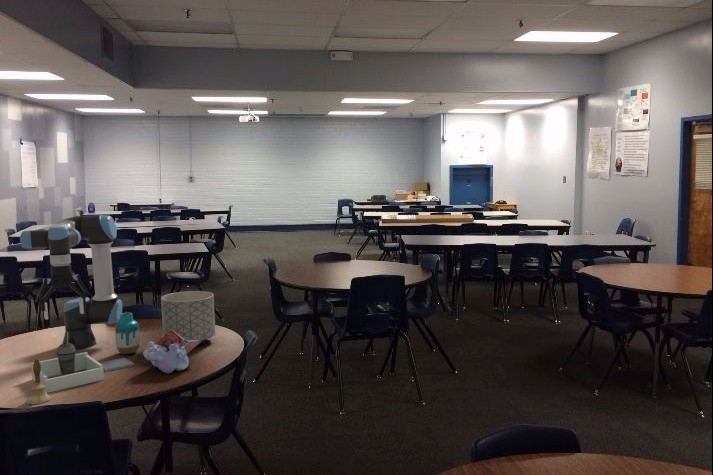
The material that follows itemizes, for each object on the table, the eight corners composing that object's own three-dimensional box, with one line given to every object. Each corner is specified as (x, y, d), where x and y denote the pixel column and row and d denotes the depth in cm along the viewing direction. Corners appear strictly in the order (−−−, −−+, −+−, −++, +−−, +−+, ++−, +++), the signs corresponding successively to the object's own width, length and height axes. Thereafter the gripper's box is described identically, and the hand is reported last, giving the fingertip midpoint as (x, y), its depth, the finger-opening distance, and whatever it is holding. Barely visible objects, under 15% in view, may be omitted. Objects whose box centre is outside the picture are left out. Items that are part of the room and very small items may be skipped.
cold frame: (32, 379, 248) (31, 363, 248) (87, 367, 263) (86, 352, 262) (45, 393, 233) (44, 375, 232) (104, 379, 247) (103, 363, 246)
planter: (187, 334, 315) (185, 289, 313) (225, 339, 304) (223, 293, 302) (152, 346, 293) (149, 298, 290) (192, 352, 282) (190, 303, 279)
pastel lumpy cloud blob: (135, 367, 247) (157, 330, 247) (141, 350, 268) (161, 316, 268) (180, 387, 253) (201, 351, 253) (182, 369, 274) (202, 335, 274)
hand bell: (44, 394, 231) (41, 354, 229) (55, 399, 226) (52, 358, 224) (22, 401, 224) (18, 360, 222) (33, 406, 219) (30, 364, 218)
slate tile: (96, 365, 266) (96, 363, 266) (124, 359, 274) (124, 357, 273) (106, 371, 257) (106, 369, 257) (134, 365, 265) (133, 363, 264)
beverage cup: (62, 377, 251) (59, 330, 249) (80, 376, 252) (77, 329, 249) (55, 383, 244) (51, 335, 242) (73, 382, 244) (70, 334, 242)
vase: (132, 357, 277) (130, 316, 275) (111, 356, 279) (109, 316, 277) (145, 350, 287) (142, 311, 285) (125, 349, 289) (122, 310, 287)
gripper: (29, 269, 232) (33, 323, 234) (95, 262, 248) (99, 312, 250) (24, 267, 237) (28, 319, 240) (89, 260, 254) (93, 309, 256)
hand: (64, 316), depth 245 cm, fingers open, 13 cm apart
